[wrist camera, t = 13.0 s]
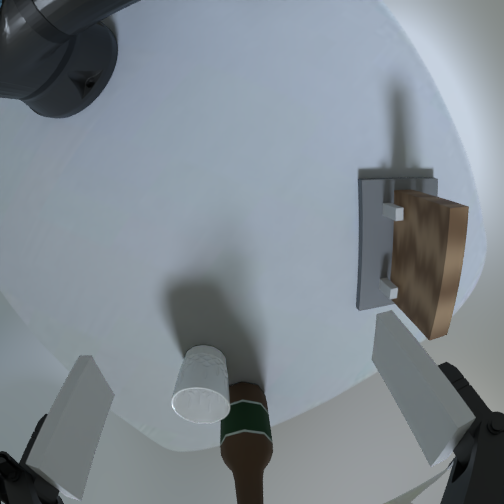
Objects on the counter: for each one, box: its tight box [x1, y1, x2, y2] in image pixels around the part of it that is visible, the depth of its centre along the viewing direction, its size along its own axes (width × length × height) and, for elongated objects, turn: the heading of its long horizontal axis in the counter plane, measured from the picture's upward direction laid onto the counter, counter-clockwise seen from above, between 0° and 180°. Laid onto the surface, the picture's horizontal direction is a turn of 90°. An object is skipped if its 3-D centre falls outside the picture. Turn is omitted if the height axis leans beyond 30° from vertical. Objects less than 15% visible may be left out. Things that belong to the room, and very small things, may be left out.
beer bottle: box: [220, 382, 273, 504], centre depth 35 cm, size 8×8×24 cm
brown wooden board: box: [390, 190, 469, 340], centre depth 32 cm, size 16×4×12 cm, turn 6°
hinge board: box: [356, 178, 438, 311], centre depth 36 cm, size 19×13×5 cm
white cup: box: [171, 345, 230, 424], centre depth 39 cm, size 8×8×10 cm
